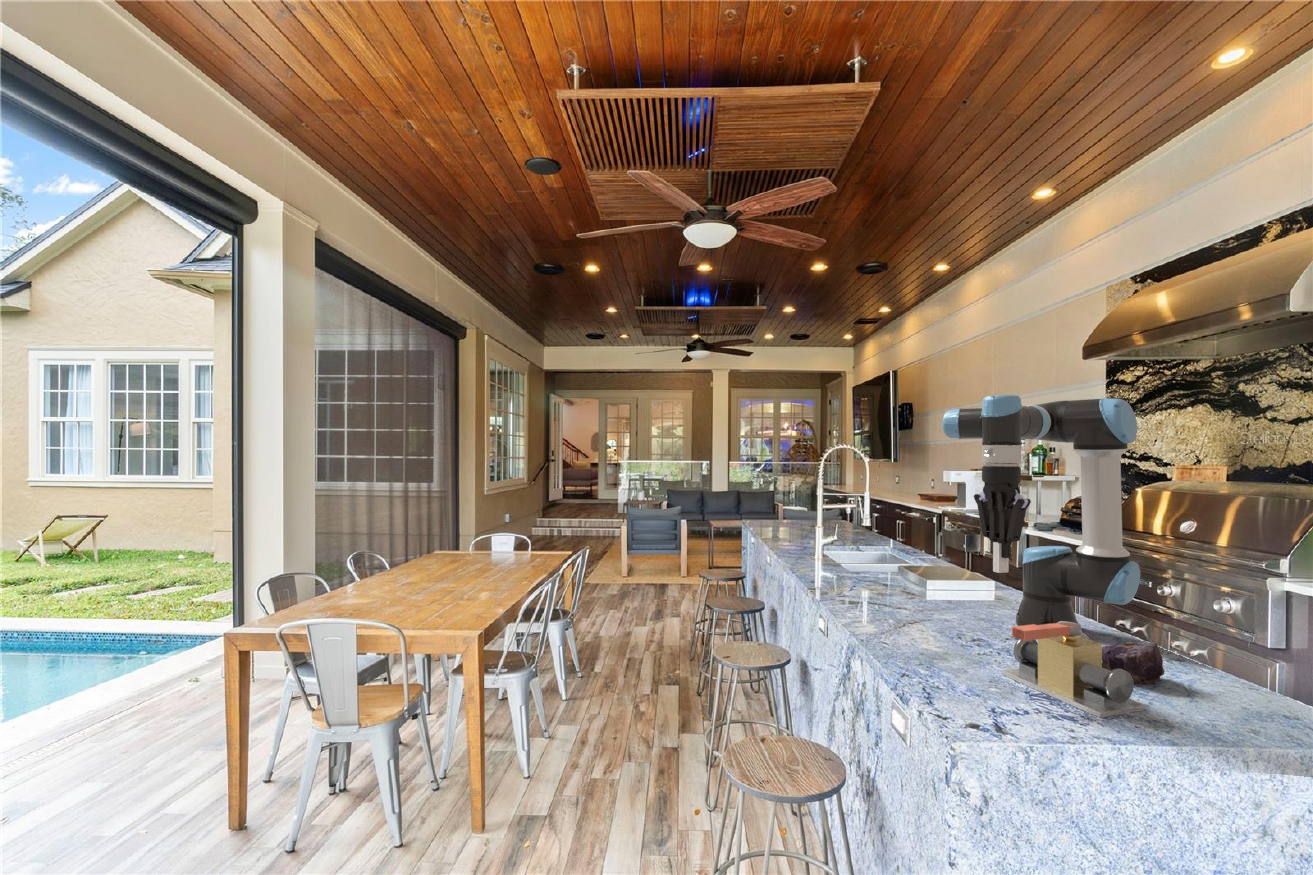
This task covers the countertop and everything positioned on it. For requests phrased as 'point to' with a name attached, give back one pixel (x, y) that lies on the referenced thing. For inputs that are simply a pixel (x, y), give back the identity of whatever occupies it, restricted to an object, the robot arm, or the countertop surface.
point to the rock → (1135, 660)
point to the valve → (1074, 675)
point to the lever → (1046, 630)
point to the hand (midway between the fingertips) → (1000, 571)
